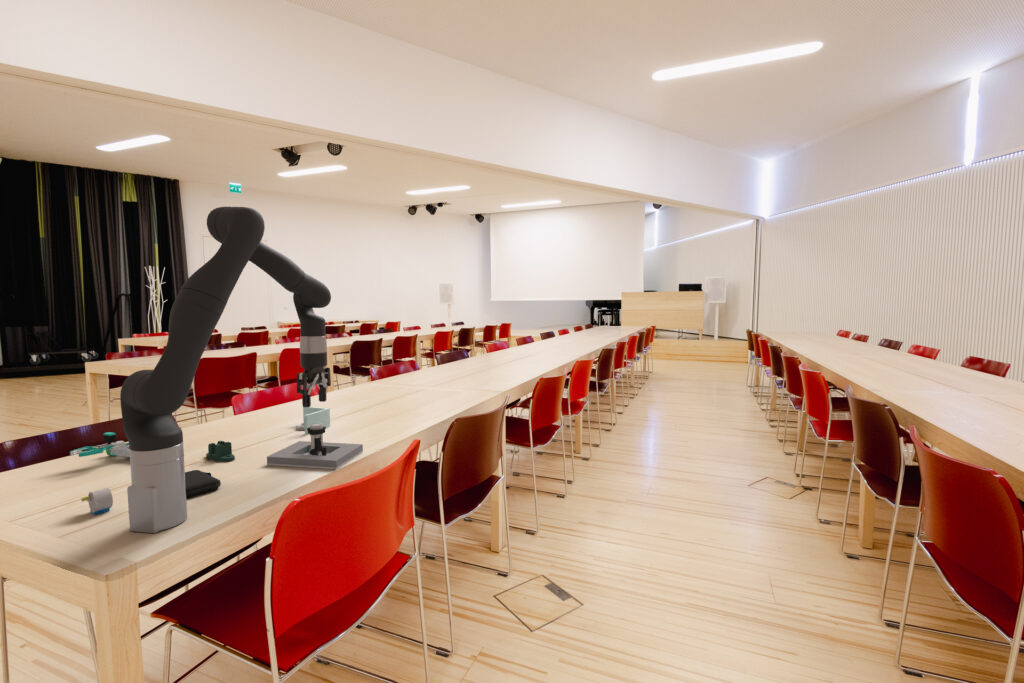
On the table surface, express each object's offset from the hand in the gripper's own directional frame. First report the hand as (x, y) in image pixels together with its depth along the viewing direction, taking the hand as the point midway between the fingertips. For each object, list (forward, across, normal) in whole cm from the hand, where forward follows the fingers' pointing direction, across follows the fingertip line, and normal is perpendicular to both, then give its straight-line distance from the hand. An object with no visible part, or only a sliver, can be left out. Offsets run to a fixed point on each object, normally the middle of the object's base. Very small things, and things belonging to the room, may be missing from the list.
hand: (314, 404), depth 145 cm
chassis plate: (+17, 0, 0) cm, 17 cm away
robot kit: (+18, -10, +56) cm, 60 cm away
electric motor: (+18, -43, +28) cm, 54 cm away
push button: (+16, -1, 0) cm, 17 cm away
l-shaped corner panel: (+18, +31, +23) cm, 43 cm away
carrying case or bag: (+18, -26, +18) cm, 37 cm away
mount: (+17, -5, +29) cm, 34 cm away
